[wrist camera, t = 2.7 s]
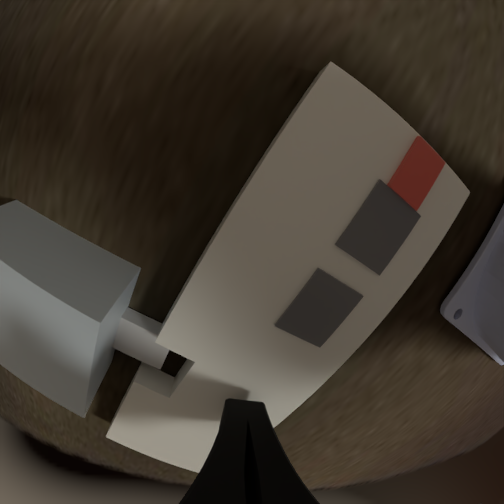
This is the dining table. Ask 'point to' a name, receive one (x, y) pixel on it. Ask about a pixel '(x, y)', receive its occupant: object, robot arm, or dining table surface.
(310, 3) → the dining table surface
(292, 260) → the power strip
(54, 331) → the charger
